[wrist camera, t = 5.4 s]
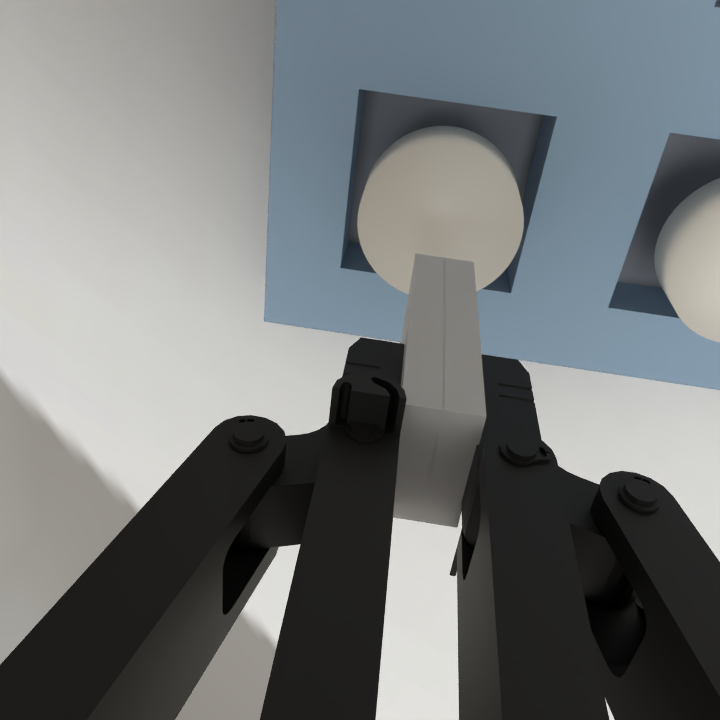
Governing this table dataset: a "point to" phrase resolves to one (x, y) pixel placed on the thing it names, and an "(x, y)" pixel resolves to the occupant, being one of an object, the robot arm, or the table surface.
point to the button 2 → (693, 260)
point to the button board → (523, 152)
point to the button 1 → (440, 205)
